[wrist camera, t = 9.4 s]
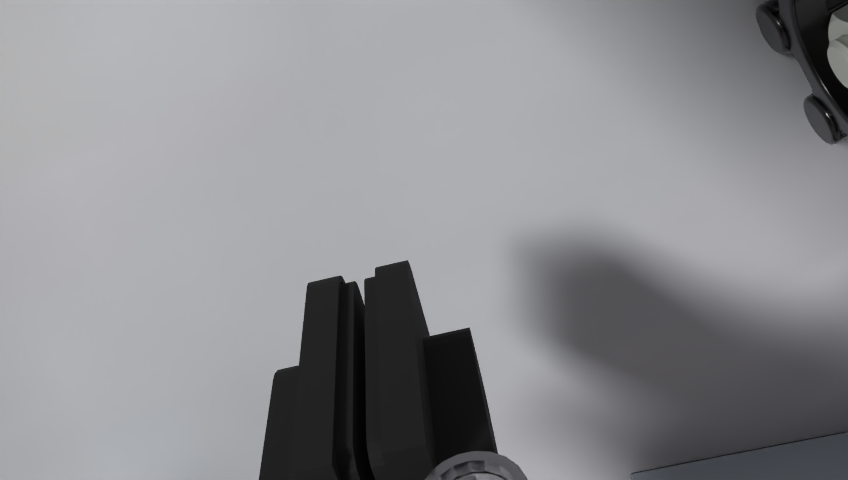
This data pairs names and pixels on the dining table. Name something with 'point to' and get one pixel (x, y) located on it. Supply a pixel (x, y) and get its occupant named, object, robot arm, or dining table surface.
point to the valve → (814, 56)
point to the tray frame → (767, 463)
